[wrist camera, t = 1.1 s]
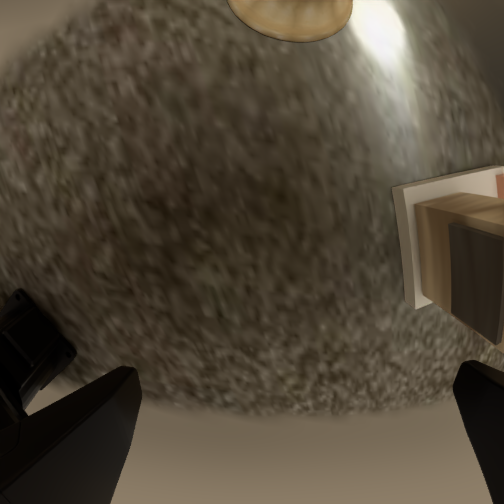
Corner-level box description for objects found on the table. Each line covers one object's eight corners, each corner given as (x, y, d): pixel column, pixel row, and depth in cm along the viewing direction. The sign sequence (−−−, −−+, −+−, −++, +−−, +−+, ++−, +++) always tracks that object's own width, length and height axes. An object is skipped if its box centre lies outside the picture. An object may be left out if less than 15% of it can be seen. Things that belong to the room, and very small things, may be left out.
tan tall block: (417, 296, 18) (535, 387, 8) (408, 205, 17) (562, 247, 6) (465, 277, 18) (582, 343, 8) (460, 191, 17) (601, 220, 6)
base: (405, 301, 20) (458, 343, 14) (391, 187, 18) (455, 196, 12) (497, 262, 20) (552, 286, 14) (491, 165, 18) (553, 170, 12)
